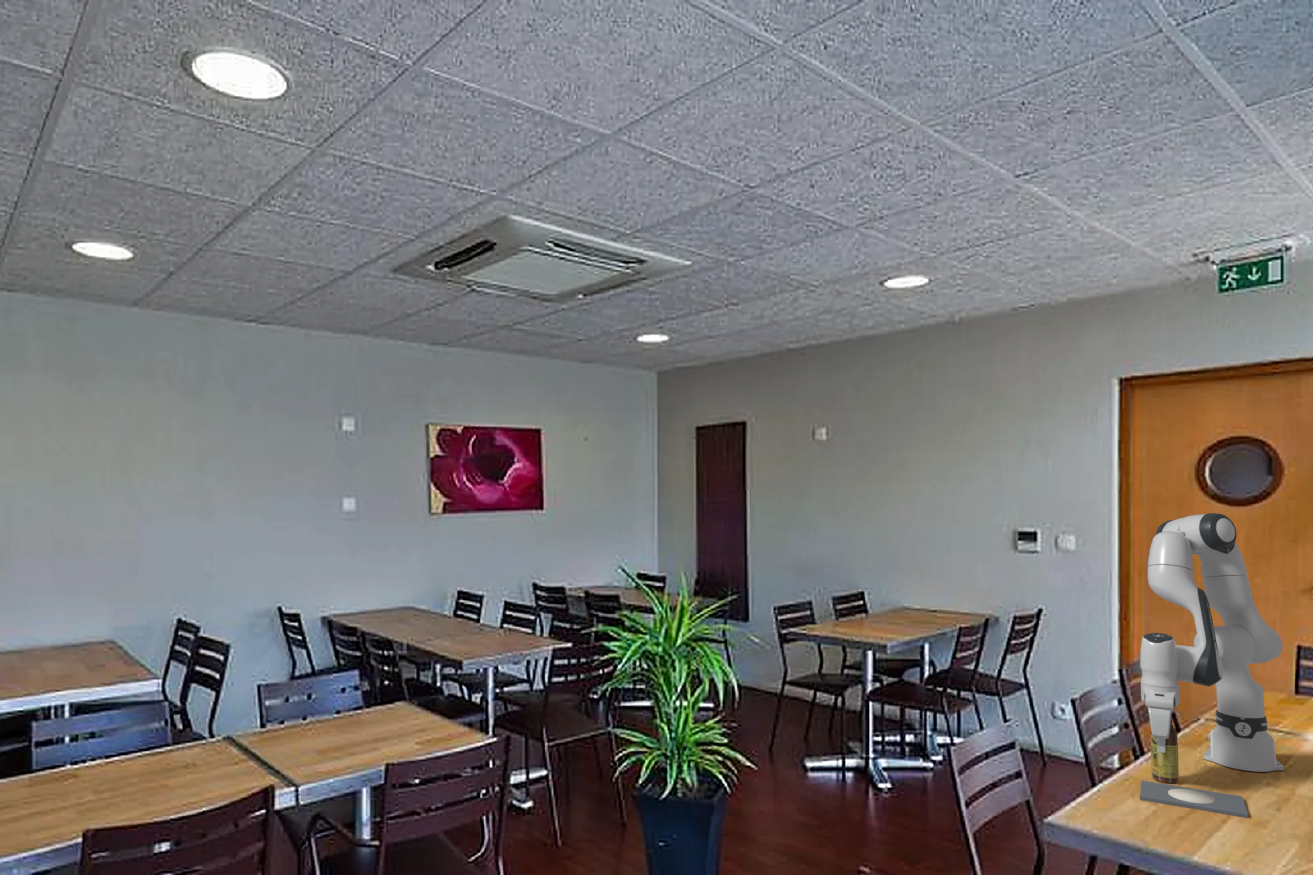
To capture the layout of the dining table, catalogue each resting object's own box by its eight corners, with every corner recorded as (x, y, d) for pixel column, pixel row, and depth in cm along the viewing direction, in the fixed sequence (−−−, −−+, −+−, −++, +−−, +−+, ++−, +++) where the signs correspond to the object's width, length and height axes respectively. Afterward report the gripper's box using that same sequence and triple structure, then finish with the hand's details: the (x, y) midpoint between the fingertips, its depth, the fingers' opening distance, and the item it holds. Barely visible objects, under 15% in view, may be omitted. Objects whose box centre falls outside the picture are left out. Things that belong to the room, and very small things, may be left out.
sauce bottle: (1151, 774, 225) (1149, 700, 226) (1178, 778, 222) (1176, 703, 223) (1151, 782, 220) (1149, 706, 221) (1179, 786, 217) (1177, 709, 217)
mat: (1141, 783, 219) (1140, 779, 219) (1242, 799, 207) (1242, 795, 207) (1140, 799, 207) (1139, 795, 207) (1247, 817, 195) (1247, 813, 195)
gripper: (1147, 687, 233) (1149, 737, 232) (1145, 700, 216) (1146, 755, 215) (1173, 690, 230) (1175, 741, 229) (1173, 704, 213) (1175, 759, 211)
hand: (1161, 748), depth 222 cm, fingers open, 7 cm apart
